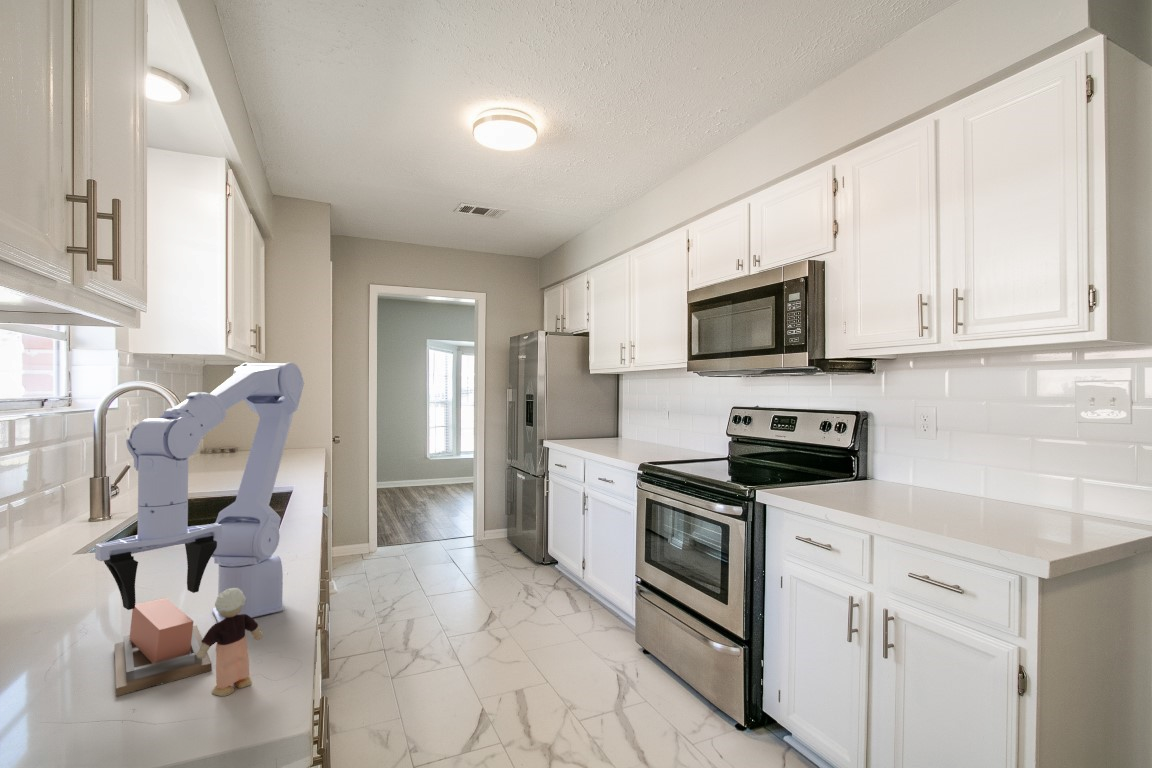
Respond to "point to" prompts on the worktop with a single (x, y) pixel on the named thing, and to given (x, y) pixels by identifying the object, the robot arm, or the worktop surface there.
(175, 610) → the block
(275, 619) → the worktop surface
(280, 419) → the robot arm
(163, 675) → the cradle
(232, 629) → the grandmother figurine
